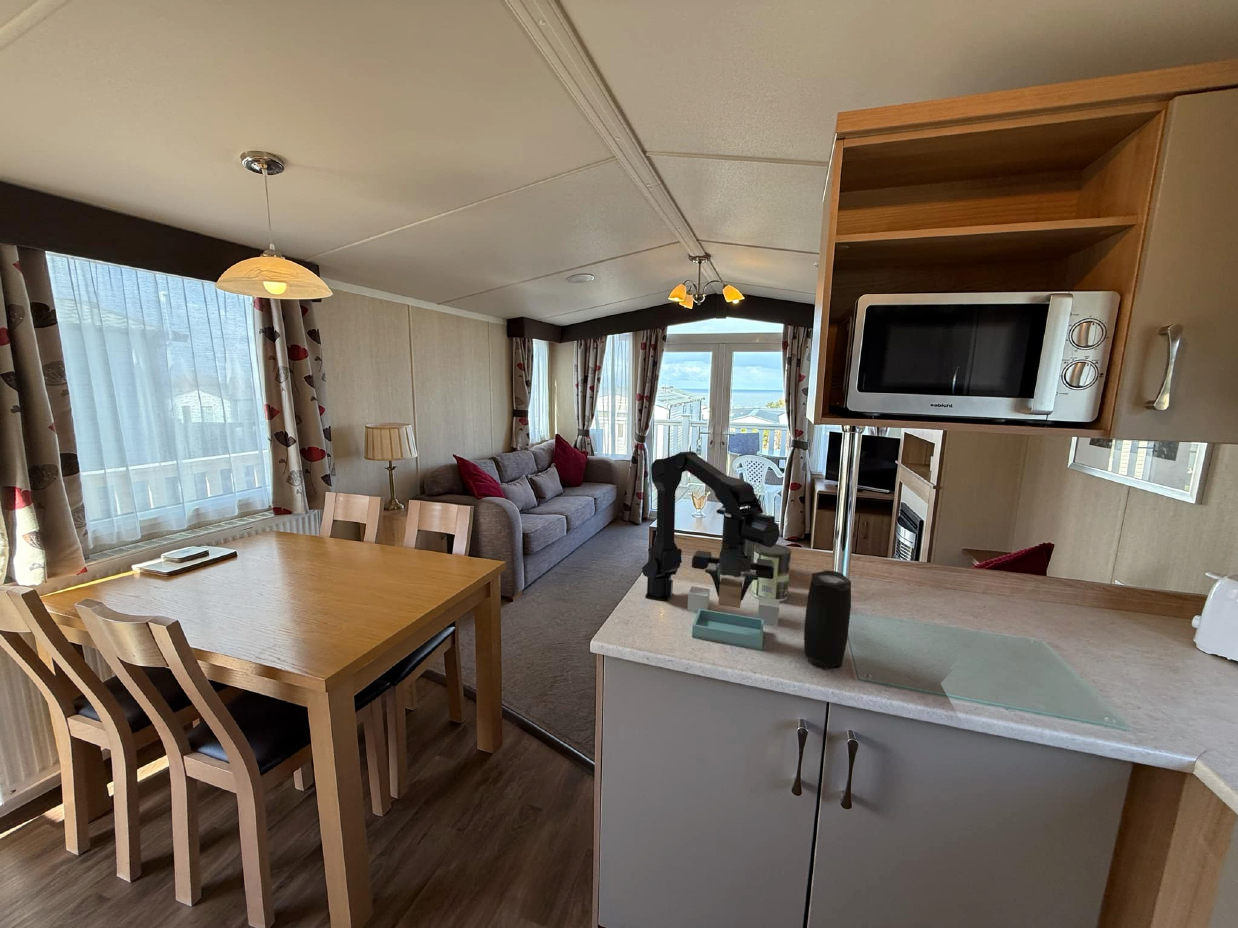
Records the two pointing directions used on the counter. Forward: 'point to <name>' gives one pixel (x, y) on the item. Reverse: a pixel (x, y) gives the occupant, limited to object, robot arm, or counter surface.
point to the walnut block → (730, 592)
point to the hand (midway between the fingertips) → (730, 598)
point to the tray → (728, 628)
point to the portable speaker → (827, 619)
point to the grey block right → (768, 610)
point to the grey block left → (698, 599)
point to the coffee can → (779, 583)
